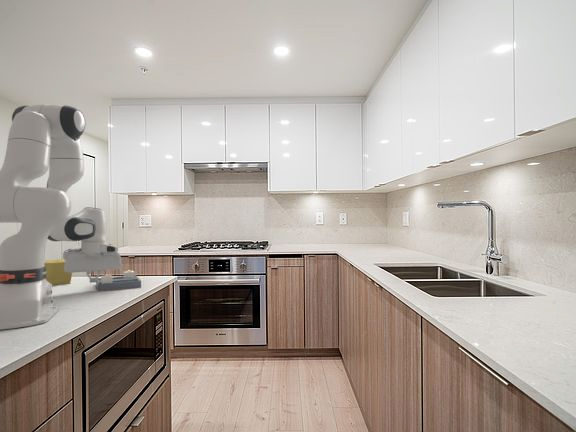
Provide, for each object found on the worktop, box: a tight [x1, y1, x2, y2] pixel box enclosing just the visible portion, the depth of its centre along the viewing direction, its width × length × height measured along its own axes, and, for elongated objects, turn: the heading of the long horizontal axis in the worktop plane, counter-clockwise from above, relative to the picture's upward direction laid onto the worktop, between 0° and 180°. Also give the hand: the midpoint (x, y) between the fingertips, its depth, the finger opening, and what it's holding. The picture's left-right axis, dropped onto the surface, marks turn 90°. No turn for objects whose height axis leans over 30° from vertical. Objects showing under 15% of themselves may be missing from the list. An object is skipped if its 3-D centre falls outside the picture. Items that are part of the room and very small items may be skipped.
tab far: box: [123, 269, 136, 278], centre depth 155 cm, size 3×4×4 cm
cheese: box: [45, 258, 73, 286], centre depth 153 cm, size 10×11×10 cm
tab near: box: [100, 273, 114, 284], centre depth 143 cm, size 3×4×4 cm
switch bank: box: [95, 274, 142, 292], centre depth 149 cm, size 14×16×3 cm
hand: (93, 282), depth 141 cm, fingers closed
